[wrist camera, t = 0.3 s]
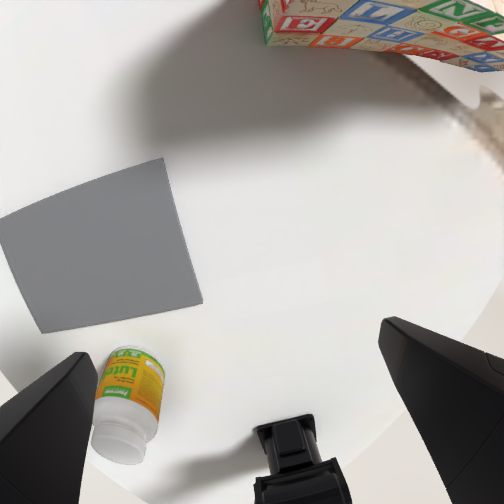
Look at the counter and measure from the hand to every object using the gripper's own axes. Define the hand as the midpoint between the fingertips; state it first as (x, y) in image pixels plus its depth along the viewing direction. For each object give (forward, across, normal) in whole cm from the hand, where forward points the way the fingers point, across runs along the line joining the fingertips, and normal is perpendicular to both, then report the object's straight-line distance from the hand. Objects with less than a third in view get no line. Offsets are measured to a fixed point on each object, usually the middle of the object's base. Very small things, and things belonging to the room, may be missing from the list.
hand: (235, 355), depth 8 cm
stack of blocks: (+14, -14, -16) cm, 26 cm away
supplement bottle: (+14, +10, +12) cm, 21 cm away
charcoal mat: (+14, +11, +1) cm, 18 cm away
